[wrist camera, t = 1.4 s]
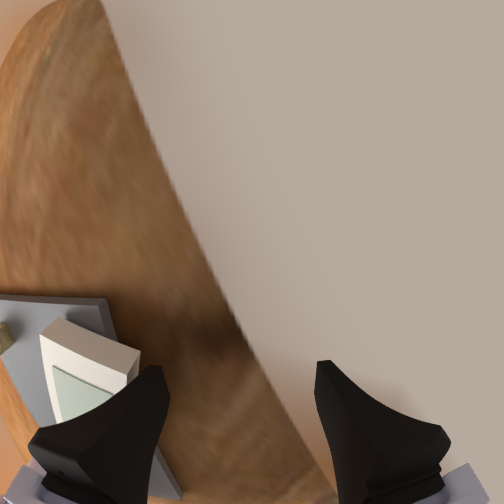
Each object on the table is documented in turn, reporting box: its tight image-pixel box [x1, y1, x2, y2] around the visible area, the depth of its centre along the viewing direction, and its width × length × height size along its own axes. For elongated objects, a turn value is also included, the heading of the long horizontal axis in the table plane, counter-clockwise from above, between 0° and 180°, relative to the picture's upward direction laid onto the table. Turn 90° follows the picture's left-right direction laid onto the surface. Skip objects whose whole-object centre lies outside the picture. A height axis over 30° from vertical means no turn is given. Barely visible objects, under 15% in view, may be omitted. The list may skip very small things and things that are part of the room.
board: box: [0, 294, 183, 500], centre depth 14 cm, size 21×12×4 cm, turn 3°
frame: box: [39, 317, 141, 424], centre depth 13 cm, size 18×5×2 cm, turn 163°
